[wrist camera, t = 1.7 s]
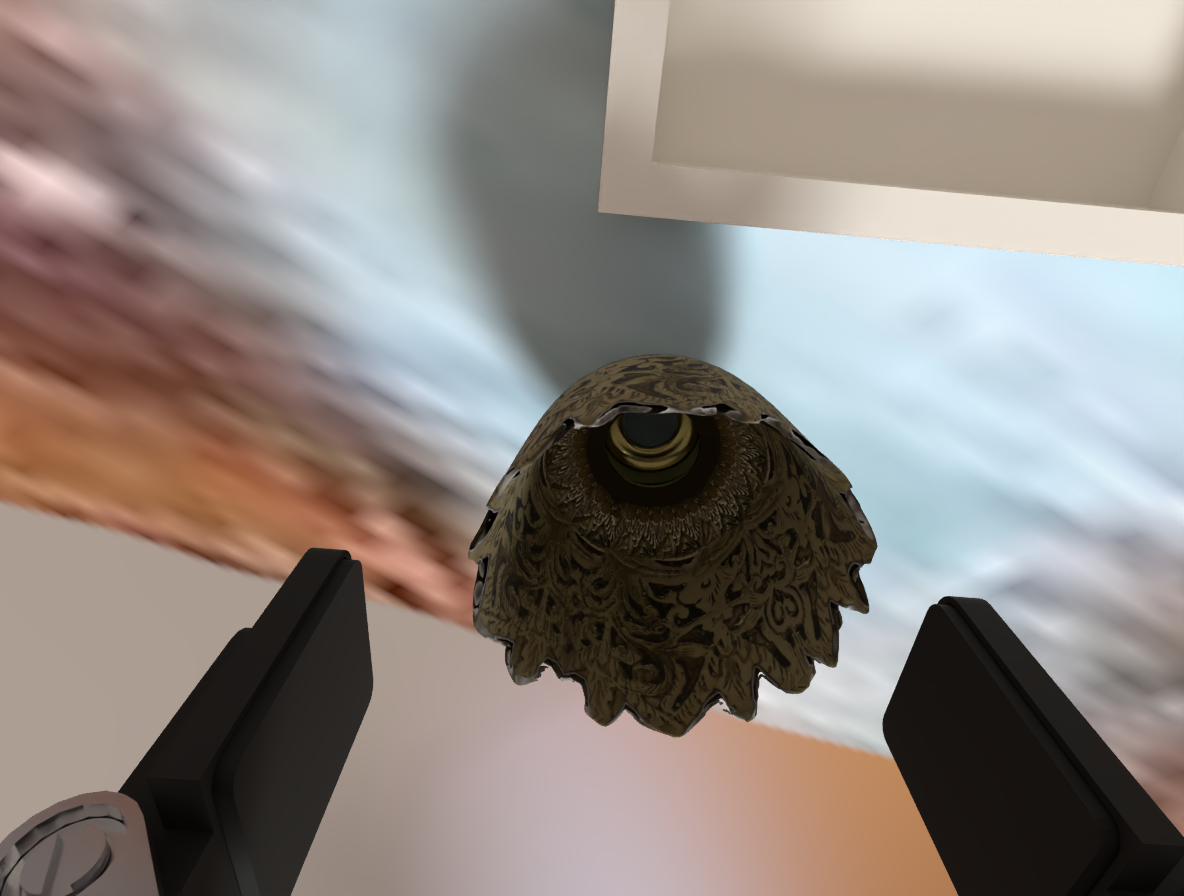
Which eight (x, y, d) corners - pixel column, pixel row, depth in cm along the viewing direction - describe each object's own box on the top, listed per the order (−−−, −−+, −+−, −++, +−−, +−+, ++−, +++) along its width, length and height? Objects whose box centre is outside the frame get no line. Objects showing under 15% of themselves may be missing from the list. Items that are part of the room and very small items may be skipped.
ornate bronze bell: (831, 401, 18) (971, 574, 11) (667, 563, 21) (692, 786, 14) (628, 239, 16) (635, 317, 9) (478, 440, 19) (394, 621, 12)
